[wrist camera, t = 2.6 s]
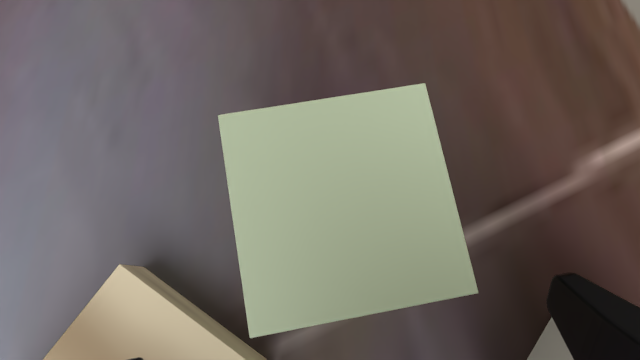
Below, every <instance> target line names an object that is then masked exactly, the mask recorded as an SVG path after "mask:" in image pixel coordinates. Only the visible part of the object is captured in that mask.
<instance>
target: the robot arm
mask: <svg viewBox="0 0 640 360" xmlns="http://www.w3.org/2000/svg"><path fill="white" fill-rule="evenodd" d="M547 308H548V310H549V313H550V315H551V317H552V318H553V320H554V322H555V324H556V326H557V328H558V330H559V332H560V334H561V336H562V338H563V340H564V342H565V344H566V346H567V348H568V350H569V351H570V353H571V355H572V357H573V359H574V360H640V308H639V307H637V306H635V305H633V304H632V303H630V302H628V301H626V300H624V299H622V298H620V297H618V296H617V295H615V294H613V293H611V292H609V291H607V290H605V289H604V288H602V287H600V286H598V285H596V284H594V283H592V282H591V281H589V280H587V279H585V278H583V277H581V276H579V275H577V274H575V273H564V274H559V275H556V276H554V277H553V278H552V281H551V285H550V289H549V293H548V296H547ZM127 360H144V359H143V358H141V357H137V358H132V359H127Z"/></svg>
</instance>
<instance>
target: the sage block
mask: <svg viewBox="0 0 640 360" xmlns="http://www.w3.org/2000/svg"><path fill="white" fill-rule="evenodd" d="M218 119H219V126H220V133H221V140H222V147H223V155H224V162H225V169H226V176H227V183H228V190H229V197H230V204H231V211H232V218H233V225H234V232H235V239H236V246H237V253H238V260H239V267H240V274H241V281H242V288H243V295H244V302H245V309H246V316H247V323H248V330H249V337H250V338H254V337H259V336H264V335H269V334H274V333H279V332H284V331H289V330H294V329H300V328H305V327H310V326H315V325H320V324H325V323H330V322H335V321H340V320H345V319H350V318H355V317H360V316H365V315H370V314H375V313H380V312H385V311H390V310H395V309H400V308H405V307H410V306H415V305H421V304H426V303H431V302H436V301H441V300H446V299H451V298H456V297H461V296H466V295H471V294H476V293H478V289H477V285H476V281H475V277H474V273H473V269H472V265H471V262H470V258H469V254H468V250H467V246H466V242H465V238H464V234H463V230H462V226H461V222H460V218H459V214H458V211H457V207H456V203H455V199H454V195H453V191H452V187H451V183H450V179H449V175H448V171H447V167H446V163H445V159H444V156H443V152H442V148H441V144H440V140H439V136H438V132H437V128H436V124H435V120H434V116H433V112H432V108H431V105H430V101H429V97H428V93H427V89H426V85H425V83H423V84H417V85H410V86H404V87H397V88H391V89H384V90H378V91H372V92H365V93H359V94H352V95H346V96H339V97H333V98H326V99H320V100H313V101H307V102H300V103H294V104H288V105H281V106H275V107H268V108H262V109H255V110H249V111H242V112H236V113H229V114H223V115H218Z"/></svg>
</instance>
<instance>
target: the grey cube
mask: <svg viewBox="0 0 640 360" xmlns="http://www.w3.org/2000/svg"><path fill="white" fill-rule="evenodd" d="M527 360H574V359H573V357H572V355H571V353H570V351H569V350H568V348H567V346H566V344H565V342H564V340H563V338H562V336H561V334H560V332H559V330H558V328H557V326H556V324H555V322H554V320H553V318H552V317H551V319H550V321H549V322H548V324H547V326H546V327H545V329H544V331H543V333H542V334H541V336H540V338H539V340H538V341H537V343H536V345H535V346H534V348H533V350H532V352H531V353H530V355H529V357H528V359H527Z"/></svg>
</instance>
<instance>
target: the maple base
mask: <svg viewBox="0 0 640 360" xmlns="http://www.w3.org/2000/svg"><path fill="white" fill-rule="evenodd" d="M137 357H141V358H143V359H144V360H267V359H266V358H265V357H263V356H262V355H261V354H259V353H258V352H257V351H255V350H254V349H253V348H251V347H250V346H249V345H247V344H246V343H245V342H243V341H242V340H241V339H239V338H238V337H237V336H235V335H234V334H233V333H231V332H230V331H229V330H227V329H226V328H225V327H223V326H222V325H221V324H219V323H218V322H217V321H215V320H214V319H213V318H211V317H210V316H209V315H207V314H206V313H205V312H203V311H202V310H201V309H199V308H198V307H197V306H195V305H194V304H193V303H191V302H190V301H189V300H187V299H186V298H185V297H183V296H182V295H181V294H179V293H178V292H177V291H175V290H174V289H173V288H171V287H170V286H169V285H167V284H166V283H165V282H163V281H162V280H161V279H159V278H158V277H157V276H155V275H154V274H153V273H151V272H150V271H149V270H147V269H146V268H145V267H140V266H131V265H122V264H119V266H118V267H117V268H116V269H115V271H114V272H113V273H112V274H111V275H110V277H109V278H108V279H107V280H106V282H105V283H104V284H103V285H102V287H101V288H100V289H99V290H98V292H97V293H96V294H95V295H94V297H93V298H92V299H91V300H90V302H89V303H88V304H87V305H86V307H85V308H84V309H83V310H82V312H81V313H80V314H79V315H78V317H77V318H76V319H75V320H74V321H73V323H72V324H71V325H70V326H69V328H68V329H67V330H66V331H65V333H64V334H63V335H62V336H61V338H60V339H59V340H58V341H57V343H56V344H55V345H54V346H53V348H52V349H51V350H50V351H49V353H48V354H47V355H46V356H45V358H44V359H43V360H127V359H132V358H137Z"/></svg>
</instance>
